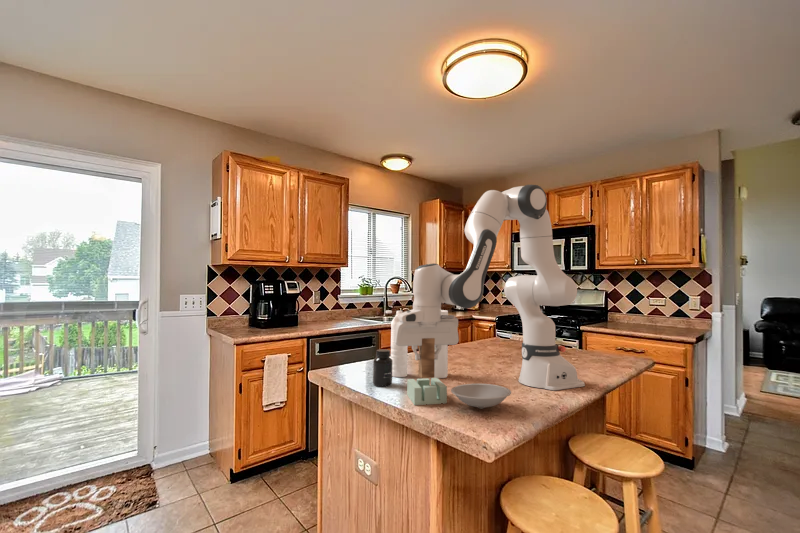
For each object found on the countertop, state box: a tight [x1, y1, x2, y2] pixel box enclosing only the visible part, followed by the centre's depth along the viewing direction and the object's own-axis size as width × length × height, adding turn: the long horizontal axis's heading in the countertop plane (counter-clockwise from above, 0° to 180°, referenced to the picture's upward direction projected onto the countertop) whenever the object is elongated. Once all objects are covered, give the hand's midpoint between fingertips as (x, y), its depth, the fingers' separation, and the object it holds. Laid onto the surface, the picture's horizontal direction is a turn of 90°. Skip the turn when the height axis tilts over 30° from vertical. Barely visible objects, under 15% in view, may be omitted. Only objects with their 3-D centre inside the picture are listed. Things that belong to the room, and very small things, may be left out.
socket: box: [406, 378, 448, 406], centre depth 117 cm, size 10×10×5 cm
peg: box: [418, 338, 435, 379], centre depth 117 cm, size 4×4×12 cm
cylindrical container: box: [434, 309, 449, 379], centre depth 145 cm, size 7×7×25 cm
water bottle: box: [385, 309, 409, 378], centre depth 145 cm, size 9×6×25 cm
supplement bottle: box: [372, 348, 393, 388], centre depth 132 cm, size 7×7×12 cm
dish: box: [450, 383, 512, 409], centre depth 109 cm, size 18×14×5 cm
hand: (426, 359), depth 117 cm, fingers closed on peg, 4 cm apart
